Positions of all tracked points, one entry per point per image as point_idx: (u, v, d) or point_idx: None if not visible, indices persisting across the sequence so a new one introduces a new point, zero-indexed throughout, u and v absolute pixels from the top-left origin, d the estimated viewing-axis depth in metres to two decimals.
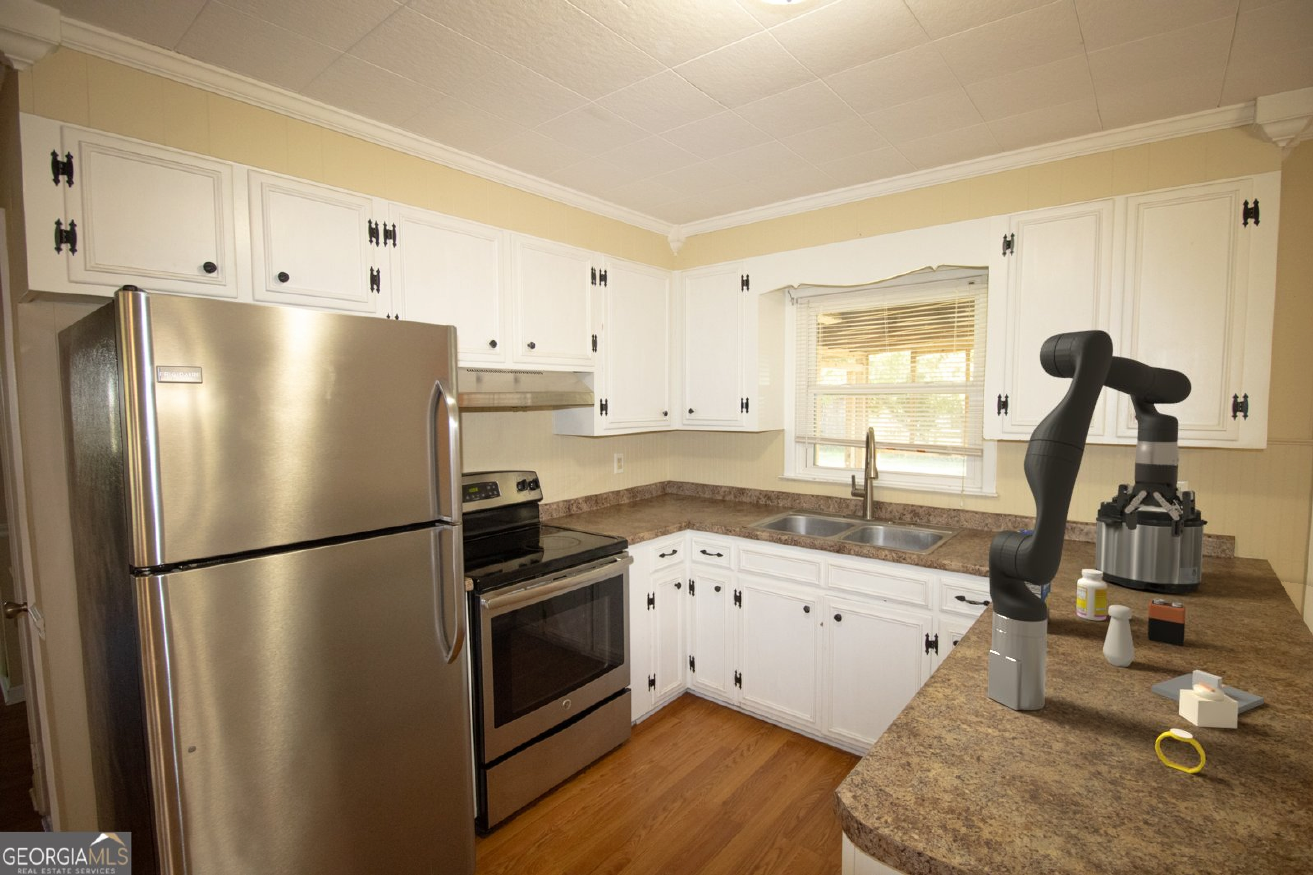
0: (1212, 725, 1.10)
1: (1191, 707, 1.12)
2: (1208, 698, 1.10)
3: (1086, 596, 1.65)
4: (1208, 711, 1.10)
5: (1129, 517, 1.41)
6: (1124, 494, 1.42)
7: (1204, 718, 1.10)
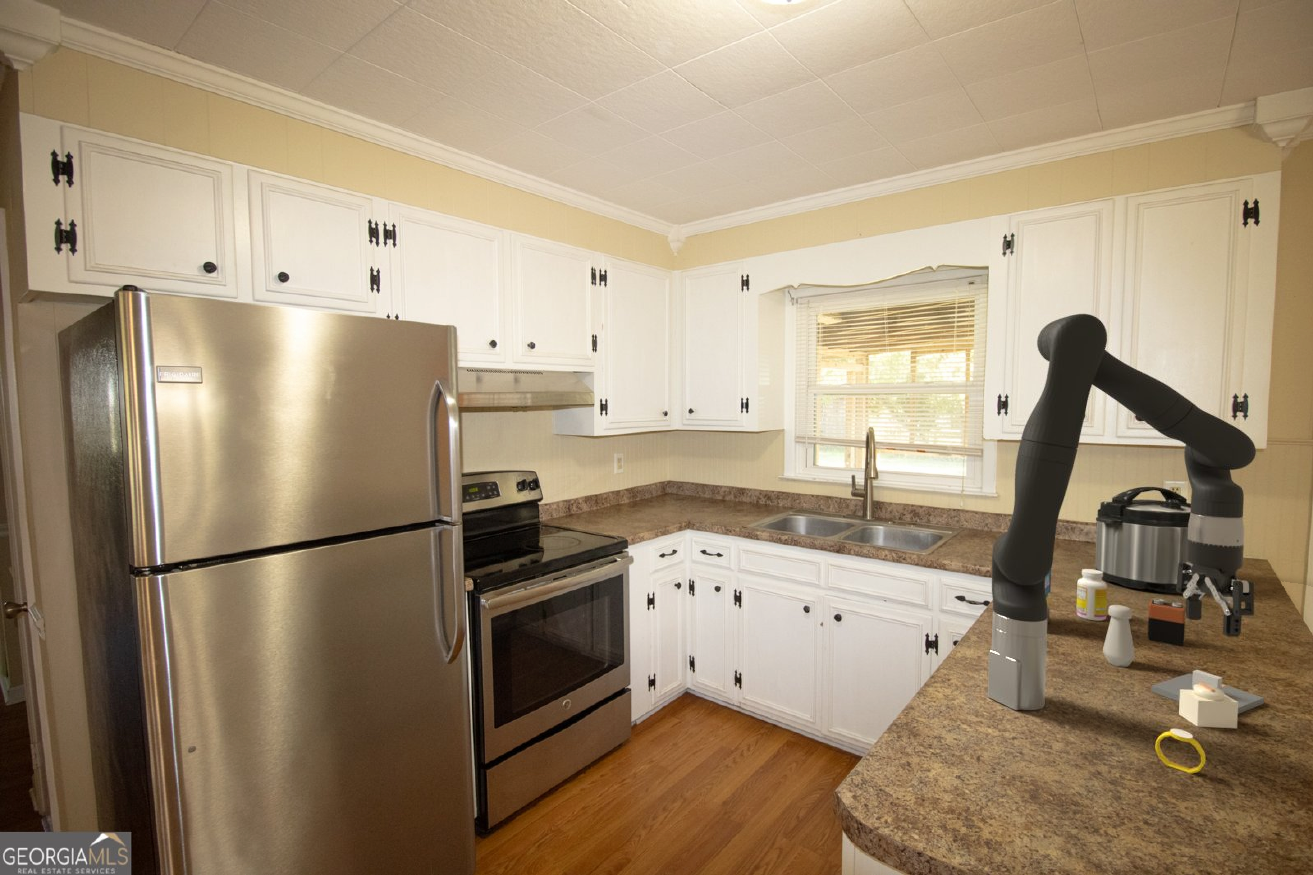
0: (1212, 725, 1.10)
1: (1191, 707, 1.12)
2: (1208, 698, 1.10)
3: (1086, 596, 1.65)
4: (1208, 711, 1.10)
5: None
6: None
7: (1204, 718, 1.10)
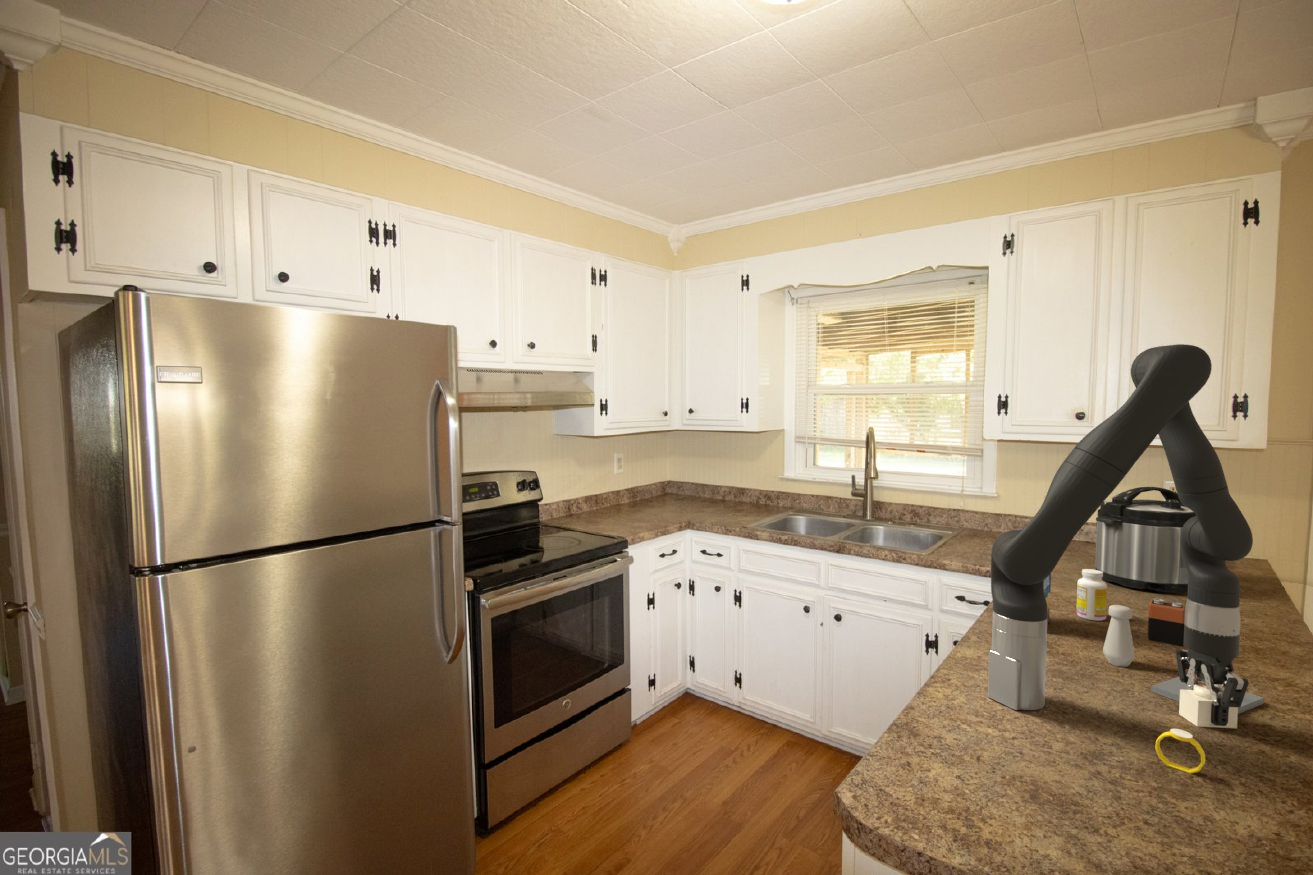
0: (1212, 725, 1.10)
1: (1191, 707, 1.12)
2: (1208, 698, 1.10)
3: (1086, 596, 1.65)
4: (1208, 711, 1.10)
5: None
6: None
7: (1204, 718, 1.10)
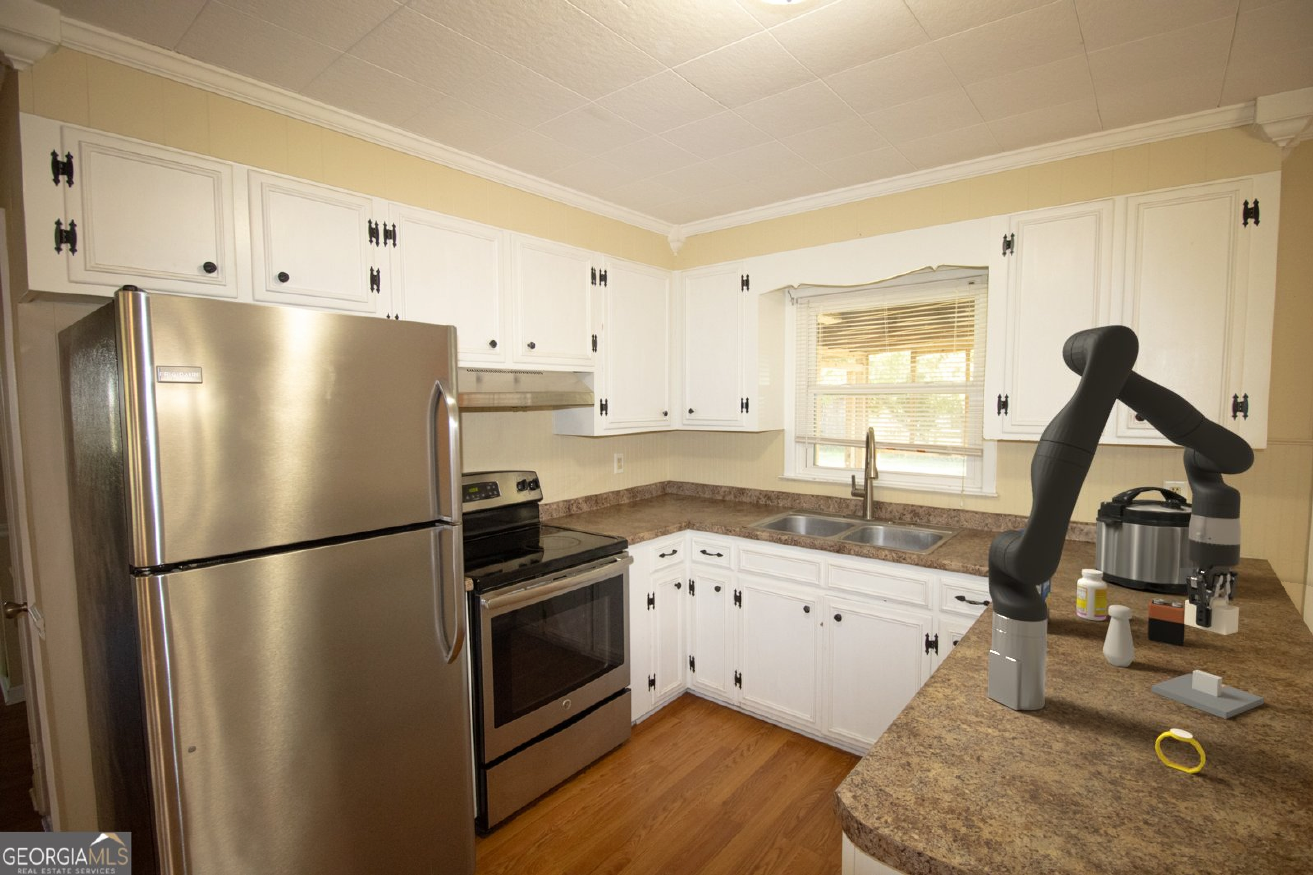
0: (1199, 626, 1.20)
1: None
2: None
3: (1086, 596, 1.65)
4: (1195, 612, 1.21)
5: (1211, 613, 1.18)
6: None
7: (1191, 618, 1.21)
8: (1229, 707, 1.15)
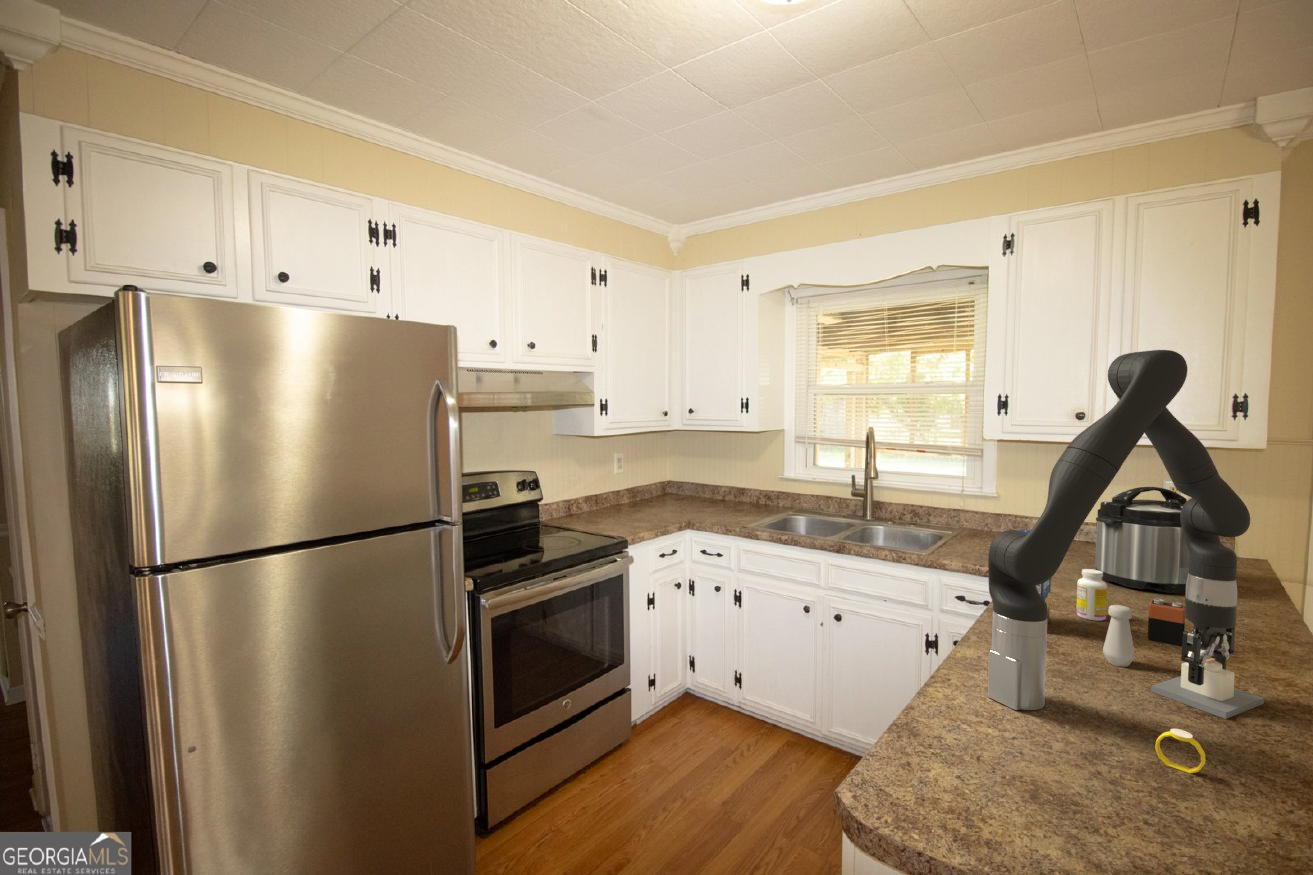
0: (1195, 690, 1.21)
1: None
2: None
3: (1086, 596, 1.65)
4: None
5: (1203, 671, 1.18)
6: None
7: (1187, 681, 1.22)
8: (1229, 707, 1.15)
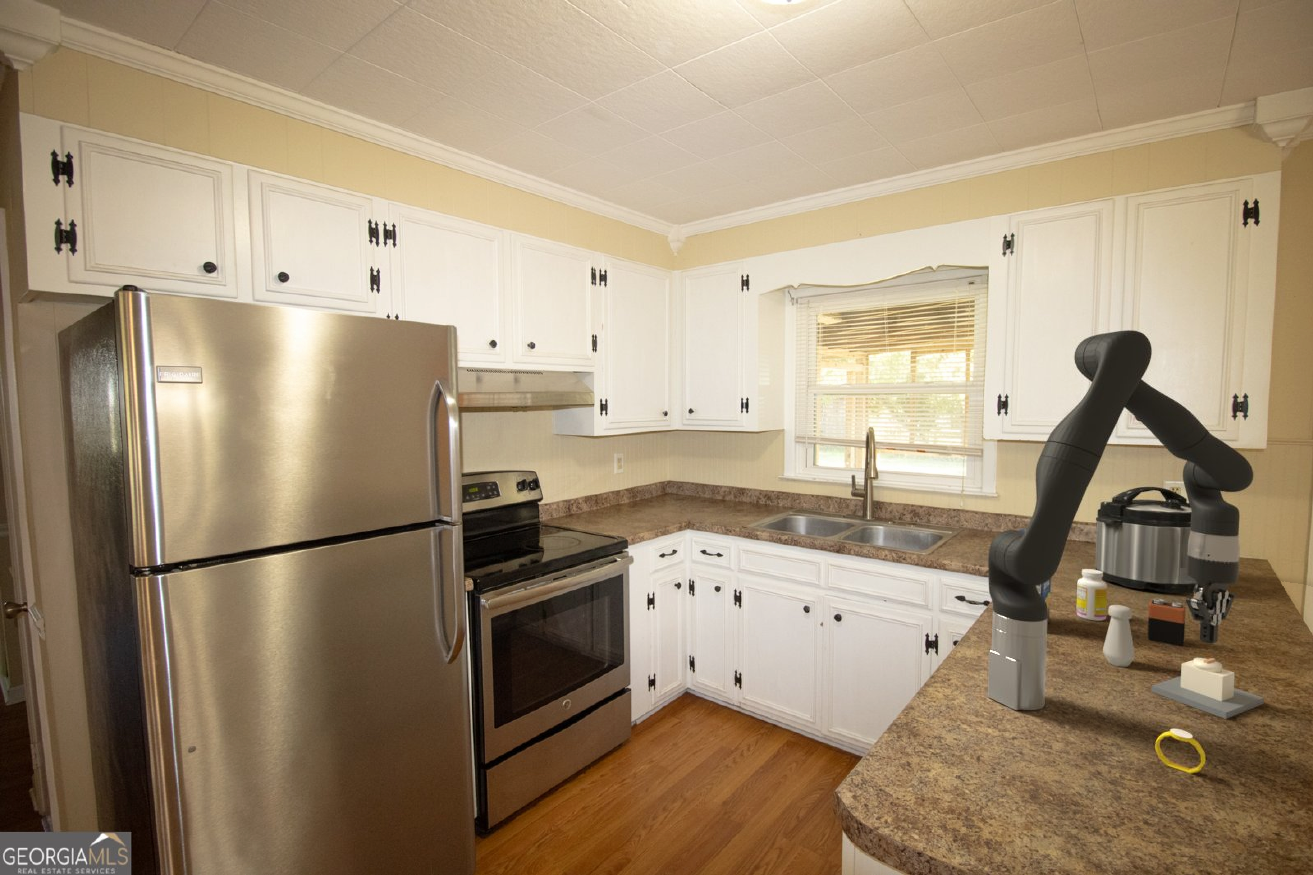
0: (1195, 690, 1.21)
1: None
2: (1195, 665, 1.21)
3: (1086, 596, 1.65)
4: (1191, 676, 1.22)
5: (1215, 629, 1.19)
6: None
7: (1187, 681, 1.22)
8: (1229, 707, 1.15)
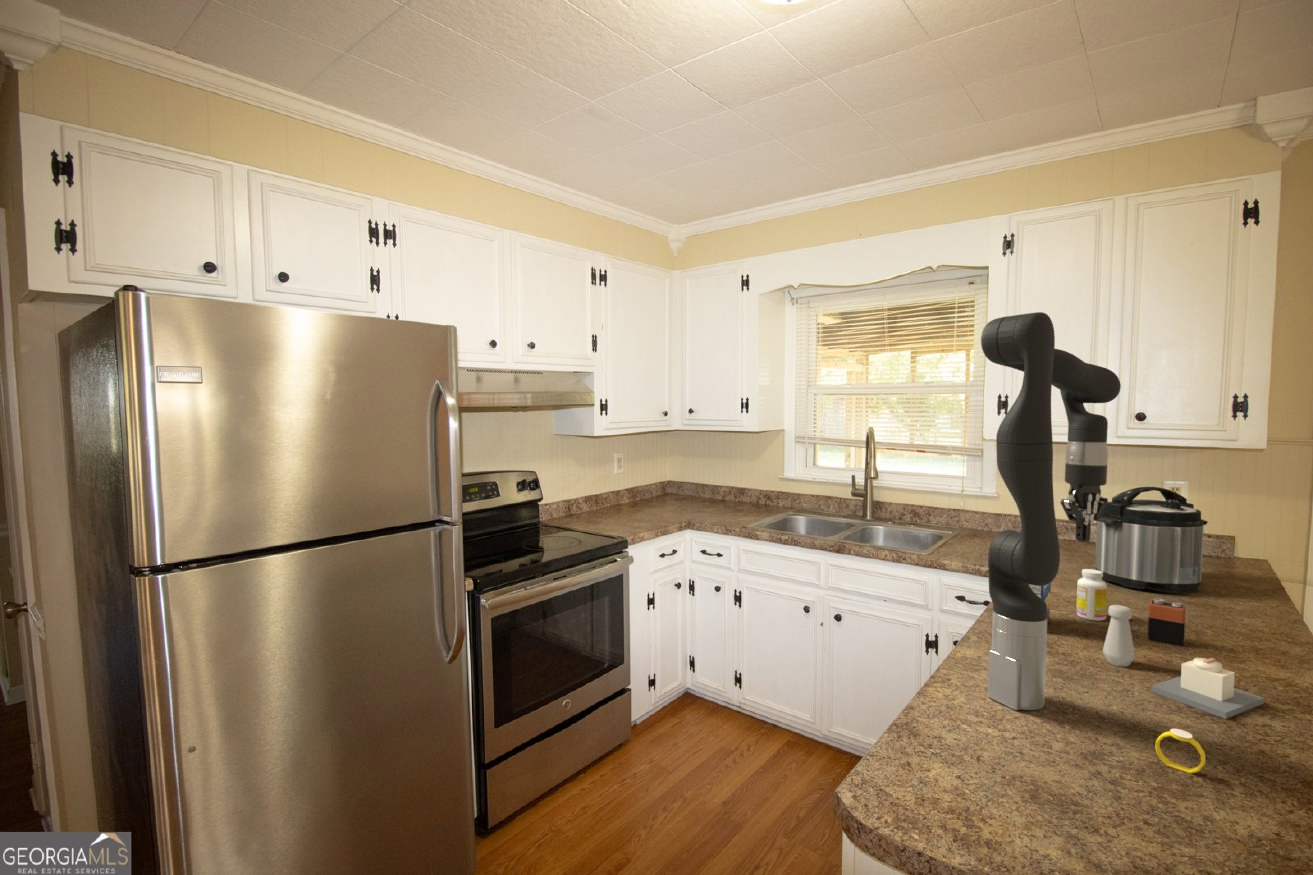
0: (1195, 690, 1.21)
1: None
2: (1195, 665, 1.21)
3: (1086, 596, 1.65)
4: (1191, 676, 1.22)
5: (1087, 529, 1.33)
6: None
7: (1187, 681, 1.22)
8: (1229, 707, 1.15)
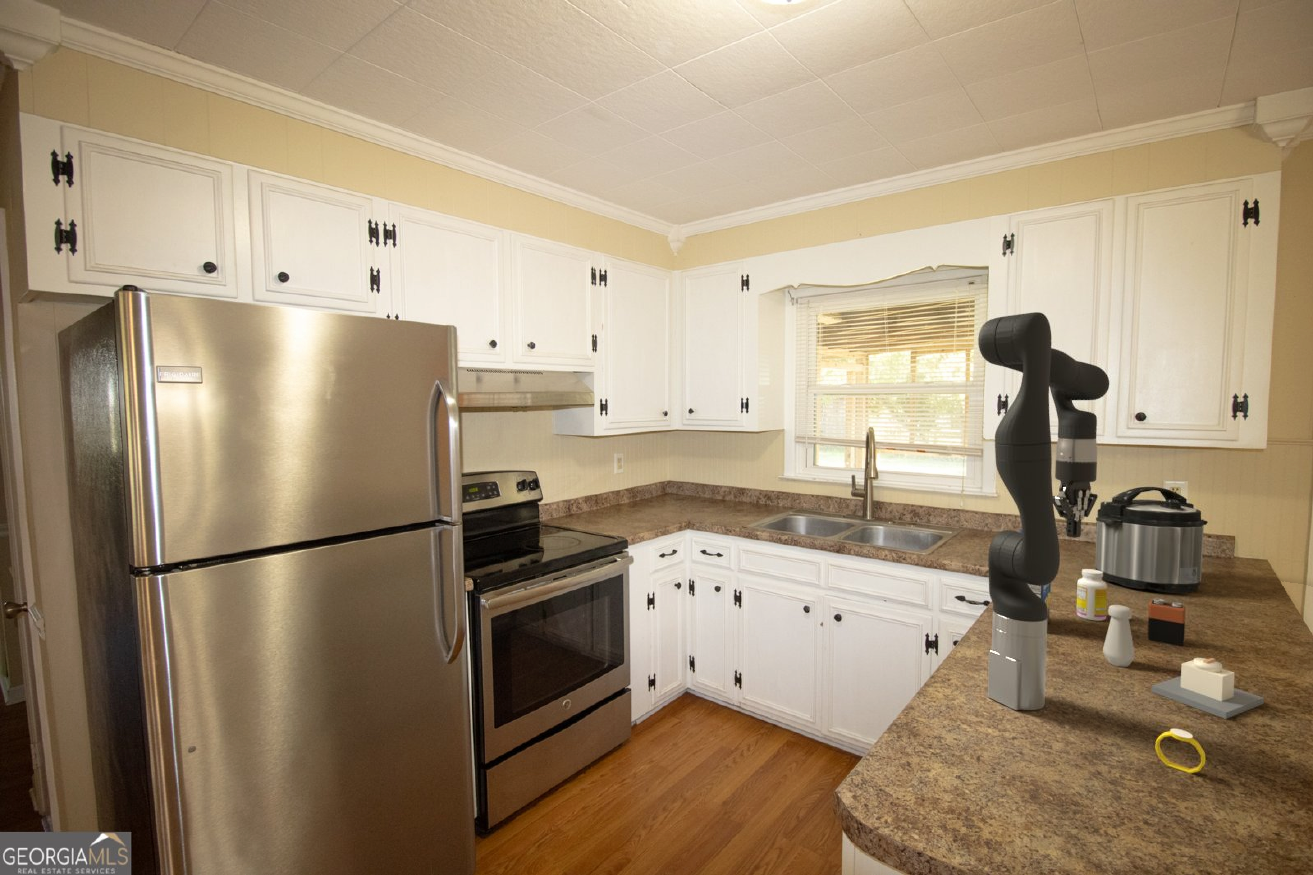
0: (1195, 690, 1.21)
1: None
2: (1195, 665, 1.21)
3: (1086, 596, 1.65)
4: (1191, 676, 1.22)
5: (1077, 525, 1.34)
6: None
7: (1187, 681, 1.22)
8: (1229, 707, 1.15)
